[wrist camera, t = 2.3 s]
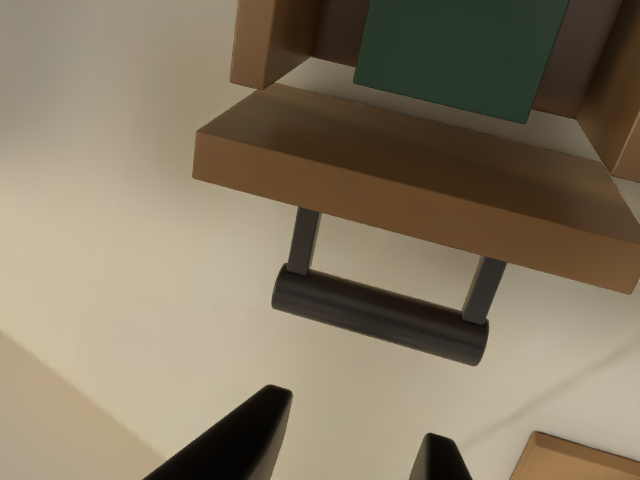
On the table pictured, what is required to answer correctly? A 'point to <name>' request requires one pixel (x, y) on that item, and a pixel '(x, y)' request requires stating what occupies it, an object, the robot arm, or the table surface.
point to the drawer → (432, 170)
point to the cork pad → (571, 462)
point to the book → (461, 52)
